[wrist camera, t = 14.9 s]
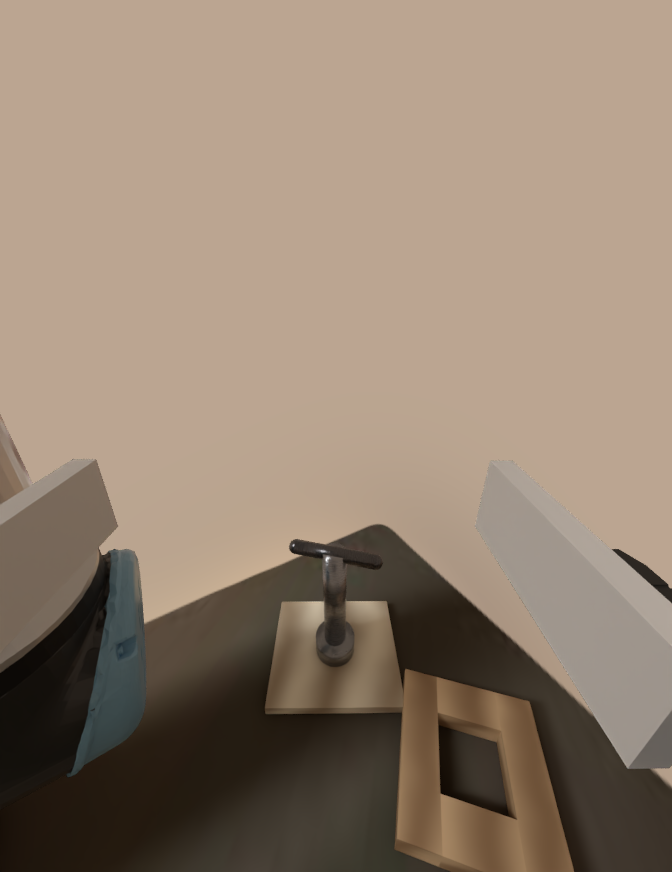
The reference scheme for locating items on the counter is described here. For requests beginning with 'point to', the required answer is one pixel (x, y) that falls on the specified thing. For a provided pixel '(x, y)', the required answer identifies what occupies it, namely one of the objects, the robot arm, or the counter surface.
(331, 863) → the counter surface
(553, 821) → the holder block
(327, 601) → the chuck key
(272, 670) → the birch board
